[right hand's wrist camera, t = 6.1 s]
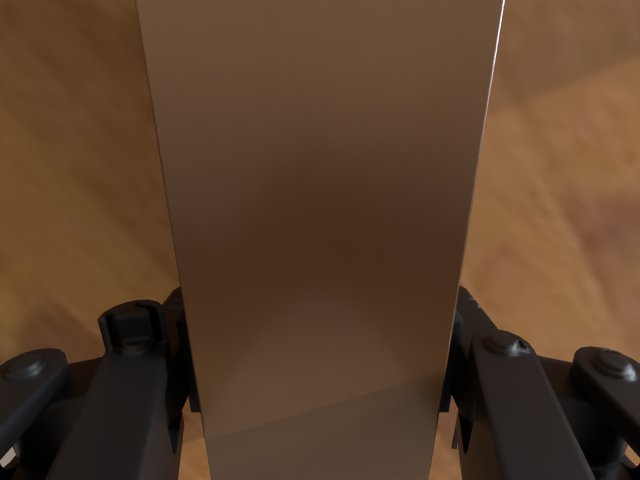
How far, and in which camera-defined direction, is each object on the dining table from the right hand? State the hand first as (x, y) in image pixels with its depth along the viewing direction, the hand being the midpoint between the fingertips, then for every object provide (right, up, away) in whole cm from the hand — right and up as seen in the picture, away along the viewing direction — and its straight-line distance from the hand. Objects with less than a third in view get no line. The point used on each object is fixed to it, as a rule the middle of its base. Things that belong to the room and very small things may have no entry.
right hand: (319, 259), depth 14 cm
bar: (0, +21, -8) cm, 23 cm away
